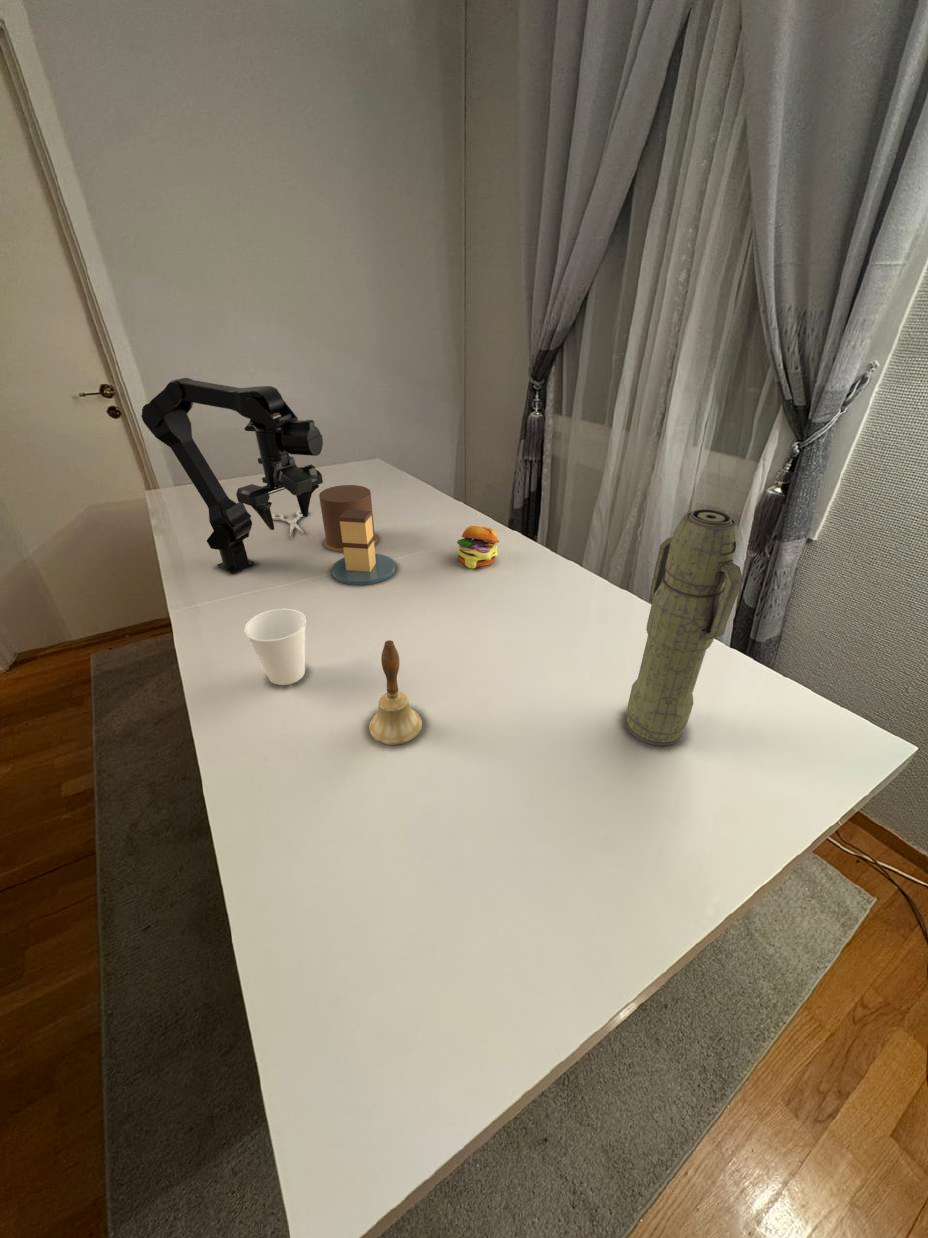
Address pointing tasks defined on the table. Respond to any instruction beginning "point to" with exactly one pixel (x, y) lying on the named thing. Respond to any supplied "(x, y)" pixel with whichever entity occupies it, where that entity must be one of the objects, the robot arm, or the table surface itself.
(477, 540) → the cheeseburger
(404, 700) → the hand bell
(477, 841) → the table surface
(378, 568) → the plate
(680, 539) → the thermos
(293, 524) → the scissors
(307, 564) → the table surface
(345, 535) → the cake slice
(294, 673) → the cup
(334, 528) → the cake
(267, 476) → the robot arm
